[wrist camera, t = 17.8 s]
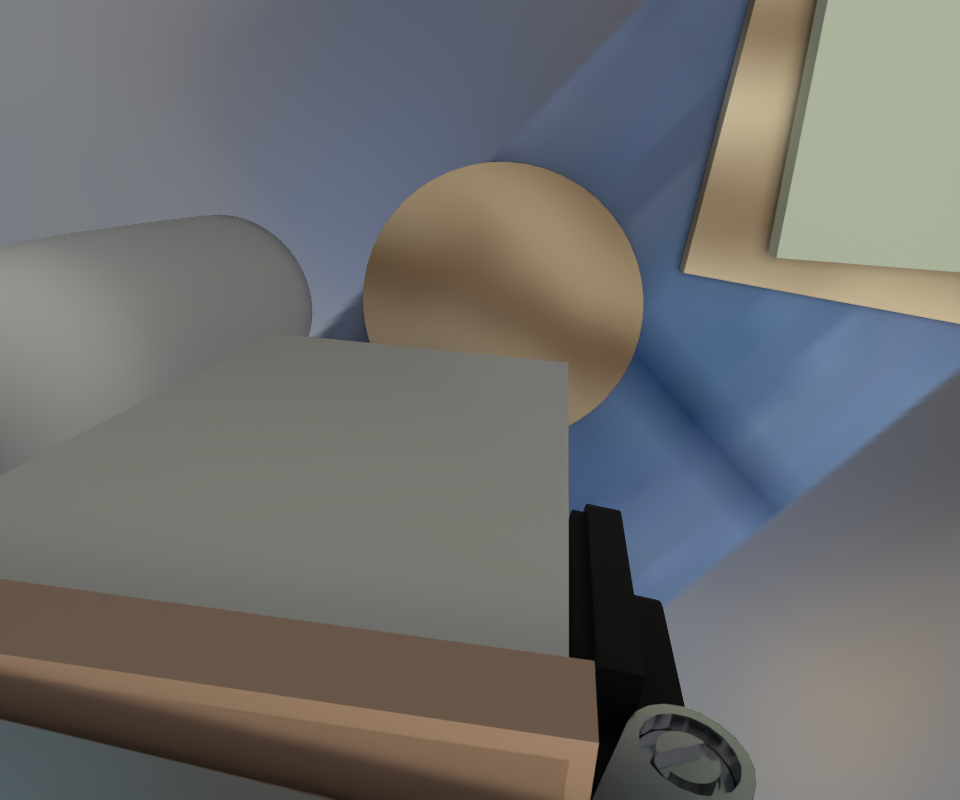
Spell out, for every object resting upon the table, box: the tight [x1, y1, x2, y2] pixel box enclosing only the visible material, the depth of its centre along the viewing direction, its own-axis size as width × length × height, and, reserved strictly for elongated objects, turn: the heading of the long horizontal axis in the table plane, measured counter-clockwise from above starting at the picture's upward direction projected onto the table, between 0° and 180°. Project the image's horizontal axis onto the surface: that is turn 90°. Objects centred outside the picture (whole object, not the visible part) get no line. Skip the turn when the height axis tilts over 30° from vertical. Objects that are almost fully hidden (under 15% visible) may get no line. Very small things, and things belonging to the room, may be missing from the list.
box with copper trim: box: [0, 333, 599, 800], centre depth 10 cm, size 6×8×9 cm
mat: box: [363, 162, 643, 426], centre depth 30 cm, size 12×12×1 cm
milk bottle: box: [0, 215, 312, 476], centre depth 22 cm, size 8×8×20 cm
